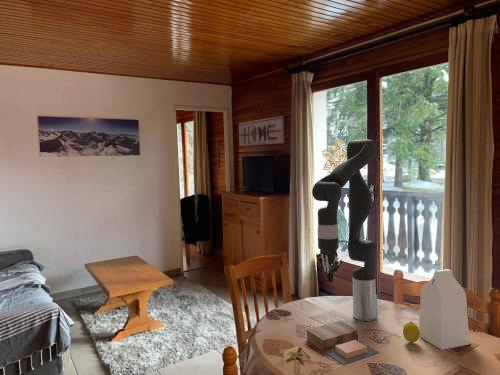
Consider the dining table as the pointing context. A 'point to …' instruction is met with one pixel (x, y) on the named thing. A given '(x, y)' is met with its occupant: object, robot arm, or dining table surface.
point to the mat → (344, 361)
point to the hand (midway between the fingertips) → (329, 281)
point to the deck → (331, 335)
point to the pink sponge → (351, 349)
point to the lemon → (411, 332)
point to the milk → (443, 311)
